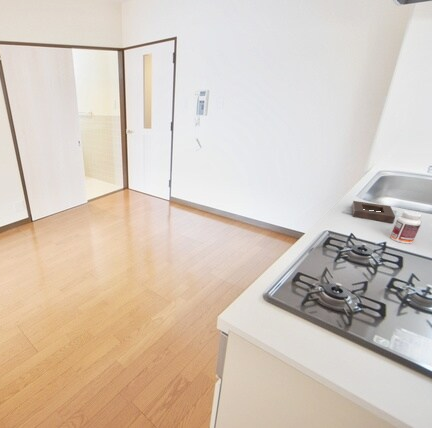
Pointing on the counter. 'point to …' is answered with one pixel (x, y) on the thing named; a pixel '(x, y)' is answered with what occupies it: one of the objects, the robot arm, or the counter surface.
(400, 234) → the pill bottle
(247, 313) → the counter surface
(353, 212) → the holder
